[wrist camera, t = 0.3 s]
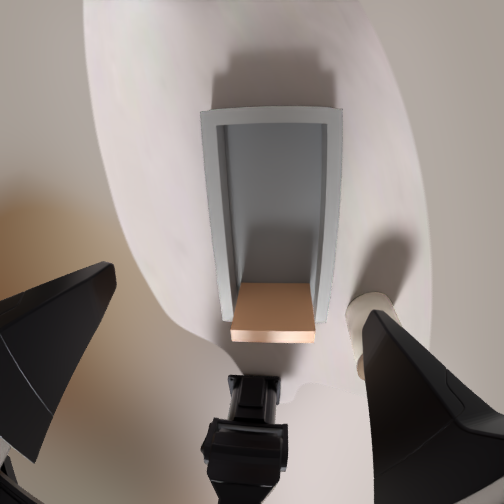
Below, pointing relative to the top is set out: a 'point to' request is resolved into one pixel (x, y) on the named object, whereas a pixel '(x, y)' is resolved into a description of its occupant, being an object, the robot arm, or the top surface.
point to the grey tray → (273, 197)
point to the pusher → (274, 313)
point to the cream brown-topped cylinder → (358, 317)
